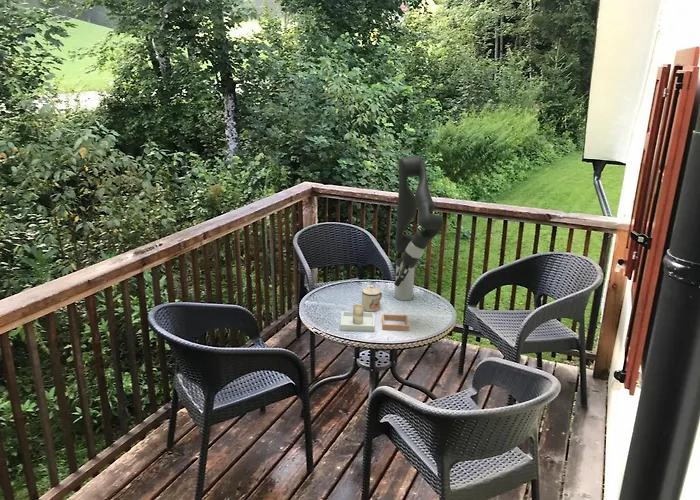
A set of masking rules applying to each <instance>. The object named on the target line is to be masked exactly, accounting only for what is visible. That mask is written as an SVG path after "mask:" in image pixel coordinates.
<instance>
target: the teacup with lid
mask: <svg viewBox="0 0 700 500" xmlns="http://www.w3.org/2000/svg"><path fill="white" fill-rule="evenodd" d="M361 293H362V294H361V305H363V306H364V309H363V311H364V312H373V313H374V312H378V311H379V310H380V306H381V305H380V304H381V302H380V301H381V300H382V297H383V293H382V291H381V289H379V288H376V287H374V285H371V284H370V285H369V287H365V288H363V289H362V290H361Z"/></svg>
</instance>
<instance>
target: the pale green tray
mask: <svg viewBox="0 0 700 500" xmlns="http://www.w3.org/2000/svg"><path fill="white" fill-rule="evenodd" d="M375 324H376V323H375V312H374V311H373V312H370V311H363V323H362V324H359V325H358V324H354V323H353V311H345V310H342V311H341V316H340V329H339V331H343V332H361V331H363V332H365V333H375V329H376V328H375V327H376V326H375Z"/></svg>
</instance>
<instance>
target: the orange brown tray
mask: <svg viewBox="0 0 700 500" xmlns="http://www.w3.org/2000/svg"><path fill="white" fill-rule="evenodd" d="M408 317H409V316H408V315H407V314H389V313H388V314H387V313H385V314H384V313H382V314H381V325H382V330H383V331H398V332H399V331H402V332H409V331H410V330H409V329H410V324H409V318H408ZM385 321H401V322H404V321H405V322H404V323H405V324H391V323H386V322H385Z"/></svg>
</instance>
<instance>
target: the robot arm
mask: <svg viewBox="0 0 700 500" xmlns="http://www.w3.org/2000/svg"><path fill="white" fill-rule="evenodd" d="M413 177H414V178H415V177H418V181H419V182H418V184H417V187H416V190H415V192H413V191H412V190H411V188H410V186H409V183H408V178H413ZM396 209H397V212H396V213H397V214H396V216H397V217H396V219H397V220H396V221H397V222H396V231H395V238H394V239H395V240H394V249H395V251H396V252H397V253H401V254H402V255H401V257H399V258H397V260H396V266H395V267H396V269H395V282H394V286H395V287H394V298H395V299H396V300H398V301H410V300H413V295H414V285H415V284H414V282H415V267H416V266H417V264H418V262H419V261H420V259H421V258H422V256H423V254H424V252H425V249H426V248H427V246H428V245H429V243H430V241H431V240H432V239H433V238H435V236H437V235H438V234H439V232H441V230H442V229H443V226H444V219H443V217H442V216H441V215H438V214H434V213H432V212H433V211H434V210H435V204H434V200H433V198H432V196H431V192H430V188H429V182H428V177H427V171H426V167H425V162H424V160H423V158H422V157H421V156H420V155H413V156H403V157H401V158H399V161H398V197H397V208H396ZM417 209H418V225H419V226H420V227H421V229H420V230H417V231H416V232H415V233H414V234H404V231H406V228H407V226H408V225H410V223H411V222H412V221H413V220H414V218H415V217H416V216H417Z"/></svg>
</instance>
